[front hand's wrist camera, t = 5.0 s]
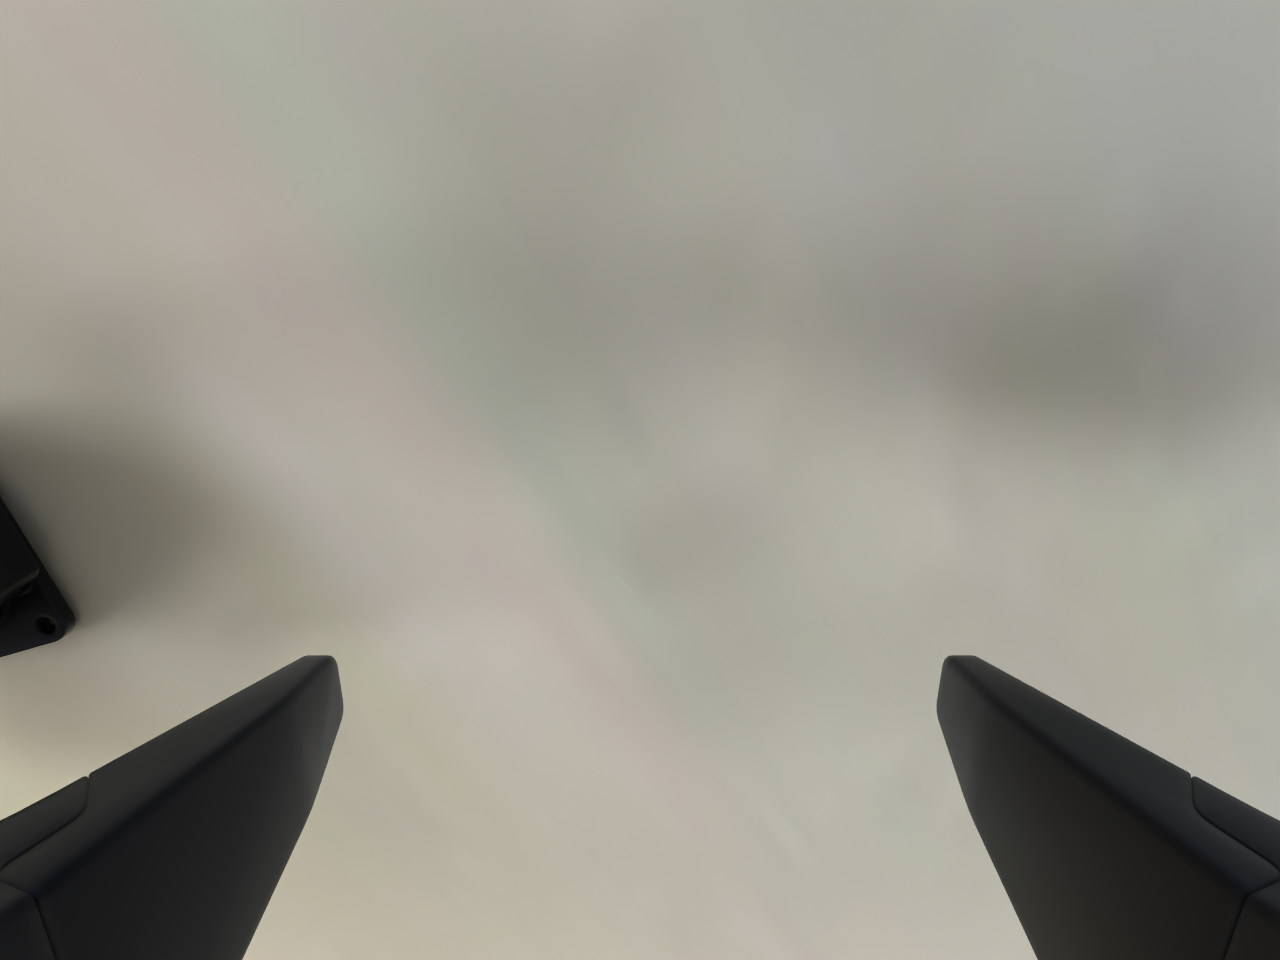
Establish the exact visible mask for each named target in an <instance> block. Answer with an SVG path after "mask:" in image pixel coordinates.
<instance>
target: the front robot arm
mask: <svg viewBox="0 0 1280 960" xmlns="http://www.w3.org/2000/svg"><path fill="white" fill-rule="evenodd" d="M47 618H49V619H51V620H52V621H53V622H54V623H55V625H53V624H51V623H50V622H49V621H48V619H47ZM75 620H76V619H75V617H74V614H73V612H72V610H71V609H70V607H69V606H68V604H67V602H66V601H65V599H64V598H63V596H62V594H61V593H60V591H59V590H58V588H57V587H56V585H55V583H54V582H53V580H52V579H51V577H50V575H49V574H48V572H47V571H46V569H45V567H44V566H43V564H42V563H41V561H40V559H39V558H38V556H37V555H36V553H35V552H34V550H33V548H32V547H31V545H30V544H29V542H28V540H27V539H26V537H25V536H24V534H23V532H22V531H21V529H20V528H19V526H18V524H17V523H16V521H15V520H14V518H13V516H12V515H11V513H10V512H9V510H8V509H7V507H6V505H5V504H4V502H3V501H2V499H1V497H0V657H3V656H6V655H10V654H13V653H17V652H20V651H24V650H27V649H31V648H34V647H38V646H41V645H45V644H48V643H52V642H55V641H57V640H59V639H61V638H63V637H64V636H65V635H66V634H68V633H69V632H70V631H72V629H73V628H74V626H75ZM342 715H343V698H342V692H341V685H340V679H339V672H338V666H337V663H336V660H335V659H334V658H333V657H332V656H328V655H308V656H304V657H302V658H300V659H298V660H296V661H294V662H293V663H291V664H289V665H287V666H285V667H284V668H282V669H280V670H278V671H276V672H274V673H273V674H271V675H269V676H267V677H265V678H263V679H262V680H260V681H258V682H256V683H254V684H252V685H251V686H249V687H247V688H245V689H243V690H241V691H240V692H238V693H236V694H234V695H232V696H230V697H229V698H227V699H225V700H223V701H221V702H219V703H218V704H216V705H214V706H212V707H210V708H209V709H207V710H205V711H203V712H201V713H199V714H198V715H196V716H194V717H192V718H190V719H188V720H187V721H185V722H183V723H181V724H179V725H177V726H176V727H174V728H172V729H170V730H168V731H166V732H165V733H163V734H161V735H159V736H157V737H155V738H154V739H152V740H150V741H148V742H146V743H144V744H143V745H141V746H139V747H137V748H135V749H134V750H132V751H130V752H128V753H126V754H124V755H123V756H121V757H119V758H117V759H115V760H113V761H112V762H110V763H108V764H106V765H104V766H102V767H101V768H99V769H97V770H95V771H93V772H91V773H90V775H89V778H88V777H86V776H84V777H82V778H80V779H78V780H76V781H75V782H73V783H71V784H69V785H67V786H66V787H64V788H62V789H60V790H58V791H56V792H55V793H53V794H51V795H49V796H47V797H45V798H43V799H41V800H39V801H38V802H36V803H34V804H32V805H30V806H28V807H26V808H24V809H22V810H21V811H19V812H17V813H15V814H13V815H11V816H9V817H7V818H5V819H3V820H1V821H0V960H242V959H243V957H244V955H245V952H246V950H247V948H248V946H249V944H250V942H251V940H252V937H253V935H254V933H255V931H256V929H257V927H258V924H259V922H260V920H261V918H262V916H263V914H264V912H265V909H266V907H267V905H268V903H269V901H270V899H271V896H272V894H273V892H274V890H275V888H276V886H277V884H278V881H279V879H280V877H281V875H282V873H283V871H284V868H285V866H286V864H287V862H288V860H289V858H290V856H291V853H292V851H293V849H294V847H295V845H296V843H297V841H298V838H299V836H300V834H301V832H302V830H303V828H304V825H305V823H306V821H307V818H308V816H309V814H310V812H311V809H312V806H313V804H314V801H315V798H316V795H317V792H318V789H319V786H320V783H321V780H322V777H323V774H324V771H325V768H326V765H327V762H328V759H329V756H330V753H331V750H332V747H333V744H334V741H335V738H336V735H337V732H338V729H339V726H340V723H341V720H342ZM937 715H938V720H939V723H940V726H941V729H942V732H943V735H944V738H945V741H946V744H947V747H948V750H949V753H950V756H951V759H952V762H953V765H954V768H955V771H956V774H957V777H958V780H959V783H960V786H961V789H962V792H963V795H964V798H965V801H966V804H967V806H968V809H969V812H970V814H971V816H972V818H973V821H974V823H975V825H976V828H977V830H978V832H979V834H980V836H981V838H982V841H983V843H984V845H985V847H986V849H987V851H988V853H989V856H990V858H991V860H992V862H993V864H994V866H995V869H996V871H997V873H998V875H999V877H1000V879H1001V881H1002V884H1003V886H1004V888H1005V890H1006V892H1007V894H1008V896H1009V899H1010V901H1011V903H1012V905H1013V907H1014V909H1015V912H1016V914H1017V916H1018V918H1019V920H1020V922H1021V924H1022V927H1023V929H1024V931H1025V933H1026V935H1027V937H1028V940H1029V942H1030V944H1031V946H1032V948H1033V950H1034V952H1035V955H1036V957H1037V959H1038V960H1280V821H1279V820H1277V819H1275V818H1273V817H1271V816H1269V815H1267V814H1265V813H1263V812H1261V811H1259V810H1258V809H1256V808H1254V807H1252V806H1250V805H1248V804H1246V803H1244V802H1242V801H1241V800H1239V799H1237V798H1235V797H1233V796H1231V795H1229V794H1227V793H1225V792H1224V791H1222V790H1220V789H1218V788H1216V787H1214V786H1213V785H1211V784H1209V783H1207V782H1205V781H1204V780H1202V779H1200V778H1198V777H1196V776H1194V777H1192V778H1191V775H1190V773H1189V772H1187V771H1185V770H1183V769H1181V768H1179V767H1178V766H1176V765H1174V764H1172V763H1170V762H1168V761H1167V760H1165V759H1163V758H1161V757H1159V756H1158V755H1156V754H1154V753H1152V752H1150V751H1148V750H1147V749H1145V748H1143V747H1141V746H1139V745H1137V744H1136V743H1134V742H1132V741H1130V740H1128V739H1126V738H1125V737H1123V736H1121V735H1119V734H1117V733H1115V732H1114V731H1112V730H1110V729H1108V728H1106V727H1104V726H1103V725H1101V724H1099V723H1097V722H1095V721H1093V720H1092V719H1090V718H1088V717H1086V716H1084V715H1082V714H1081V713H1079V712H1077V711H1075V710H1073V709H1071V708H1070V707H1068V706H1066V705H1064V704H1062V703H1060V702H1059V701H1057V700H1055V699H1053V698H1051V697H1050V696H1048V695H1046V694H1044V693H1042V692H1040V691H1039V690H1037V689H1035V688H1033V687H1031V686H1029V685H1028V684H1026V683H1024V682H1022V681H1020V680H1018V679H1017V678H1015V677H1013V676H1011V675H1009V674H1007V673H1006V672H1004V671H1002V670H1000V669H998V668H996V667H995V666H993V665H991V664H989V663H987V662H986V661H984V660H982V659H980V658H978V657H976V656H972V655H952V656H948V657H947V658H946V659H945V660H944V663H943V666H942V672H941V679H940V685H939V692H938V698H937Z"/></svg>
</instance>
